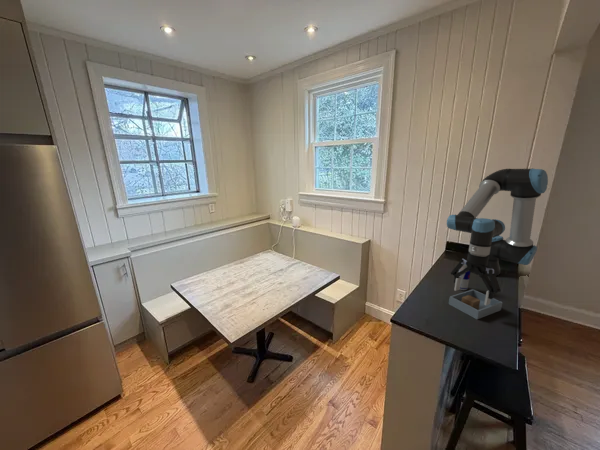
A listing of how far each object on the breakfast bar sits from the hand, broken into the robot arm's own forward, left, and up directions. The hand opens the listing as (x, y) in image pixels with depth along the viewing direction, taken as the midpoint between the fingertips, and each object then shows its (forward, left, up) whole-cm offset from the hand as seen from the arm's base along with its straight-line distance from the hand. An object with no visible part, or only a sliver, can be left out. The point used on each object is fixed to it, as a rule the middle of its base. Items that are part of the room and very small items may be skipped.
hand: (471, 296), depth 112 cm
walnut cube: (0, 0, -6) cm, 6 cm away
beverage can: (-16, -14, -6) cm, 22 cm away
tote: (-4, 0, -6) cm, 7 cm away
